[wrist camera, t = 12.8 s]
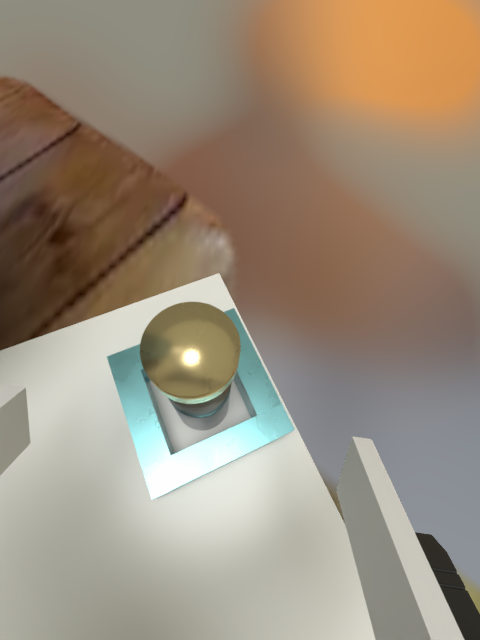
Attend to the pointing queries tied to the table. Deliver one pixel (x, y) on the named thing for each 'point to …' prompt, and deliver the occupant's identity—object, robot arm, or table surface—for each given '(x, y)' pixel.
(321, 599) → the board
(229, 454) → the teal square frame
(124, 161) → the table surface
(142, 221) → the table surface
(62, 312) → the table surface
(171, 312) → the gold capped grey cylinder
